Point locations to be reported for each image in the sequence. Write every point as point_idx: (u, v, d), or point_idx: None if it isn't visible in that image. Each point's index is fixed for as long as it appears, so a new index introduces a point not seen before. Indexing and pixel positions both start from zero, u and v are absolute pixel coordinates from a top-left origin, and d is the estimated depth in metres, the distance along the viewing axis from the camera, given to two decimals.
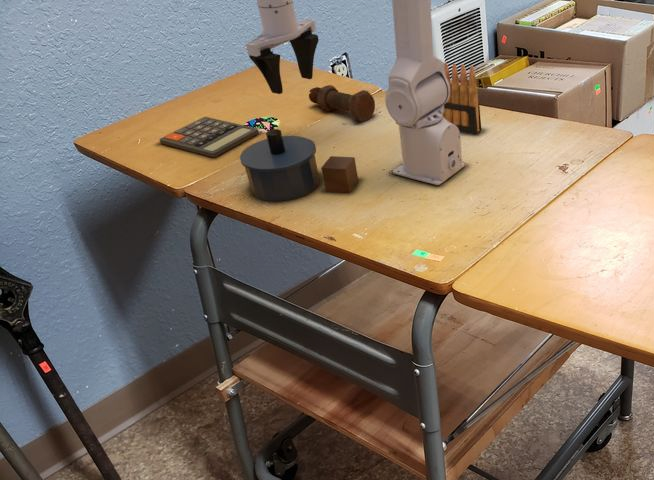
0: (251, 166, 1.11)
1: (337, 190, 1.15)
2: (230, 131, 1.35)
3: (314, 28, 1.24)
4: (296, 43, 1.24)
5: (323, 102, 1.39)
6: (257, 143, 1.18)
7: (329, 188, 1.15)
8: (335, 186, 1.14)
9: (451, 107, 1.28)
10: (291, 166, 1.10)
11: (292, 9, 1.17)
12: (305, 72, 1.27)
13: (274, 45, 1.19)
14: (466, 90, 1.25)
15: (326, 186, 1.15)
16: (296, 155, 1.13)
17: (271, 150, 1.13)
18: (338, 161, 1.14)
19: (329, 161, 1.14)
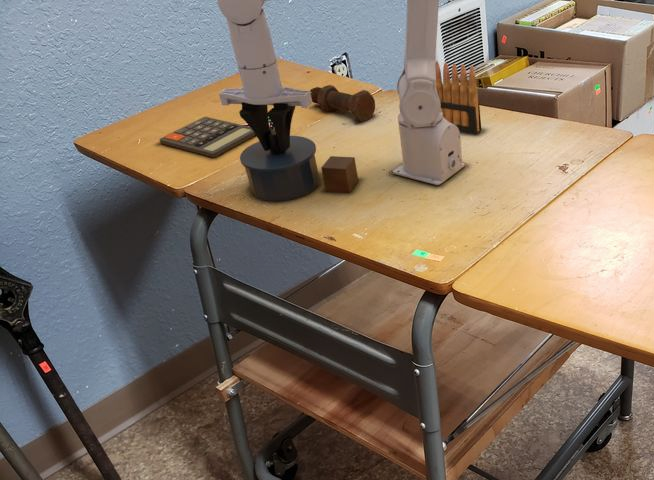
0: (251, 166, 1.11)
1: (337, 190, 1.15)
2: (230, 131, 1.35)
3: (304, 104, 1.07)
4: None
5: (323, 102, 1.39)
6: (257, 143, 1.18)
7: (329, 188, 1.15)
8: (335, 186, 1.14)
9: (451, 107, 1.28)
10: (291, 166, 1.10)
11: (255, 76, 1.04)
12: None
13: None
14: (466, 90, 1.25)
15: (326, 186, 1.15)
16: (296, 155, 1.13)
17: (271, 150, 1.13)
18: (338, 161, 1.14)
19: (329, 161, 1.14)
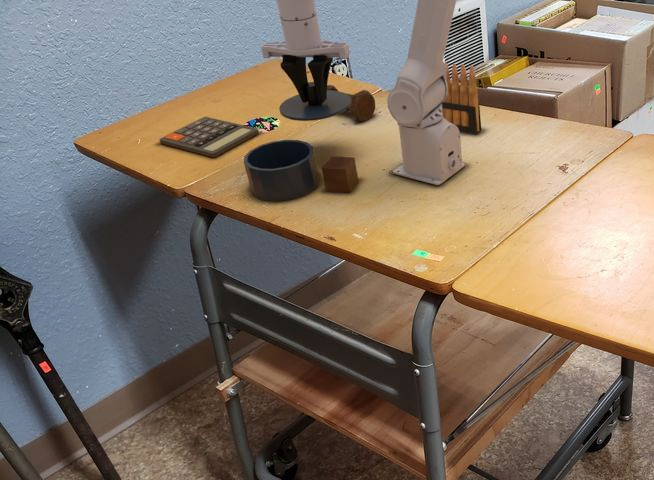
0: (291, 116, 1.17)
1: (337, 190, 1.15)
2: (230, 131, 1.35)
3: (342, 56, 1.13)
4: None
5: None
6: (294, 96, 1.24)
7: (329, 188, 1.15)
8: (335, 186, 1.14)
9: (451, 107, 1.28)
10: (329, 116, 1.16)
11: (298, 27, 1.10)
12: None
13: (291, 55, 1.16)
14: (466, 90, 1.25)
15: (326, 186, 1.15)
16: (333, 106, 1.19)
17: (309, 102, 1.19)
18: (338, 161, 1.14)
19: (329, 161, 1.14)
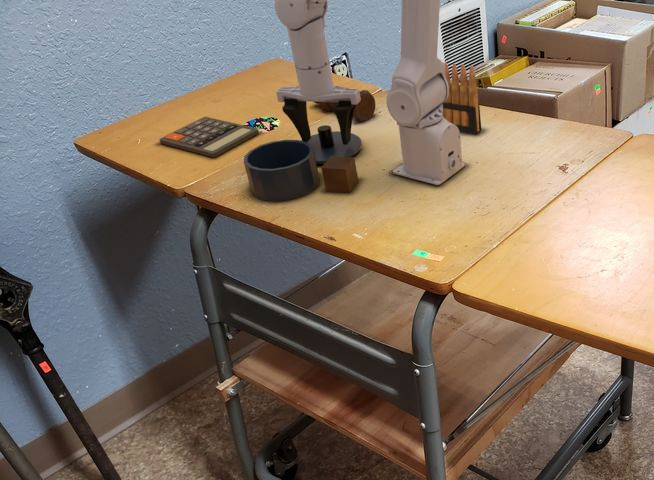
0: None
1: (337, 190, 1.15)
2: (230, 131, 1.35)
3: (354, 101, 1.19)
4: None
5: (324, 102, 1.39)
6: None
7: (329, 188, 1.15)
8: (335, 186, 1.14)
9: (451, 107, 1.28)
10: None
11: (312, 75, 1.16)
12: None
13: (305, 99, 1.21)
14: (466, 90, 1.25)
15: (326, 186, 1.15)
16: (344, 149, 1.25)
17: (322, 144, 1.25)
18: (338, 161, 1.14)
19: (329, 161, 1.14)
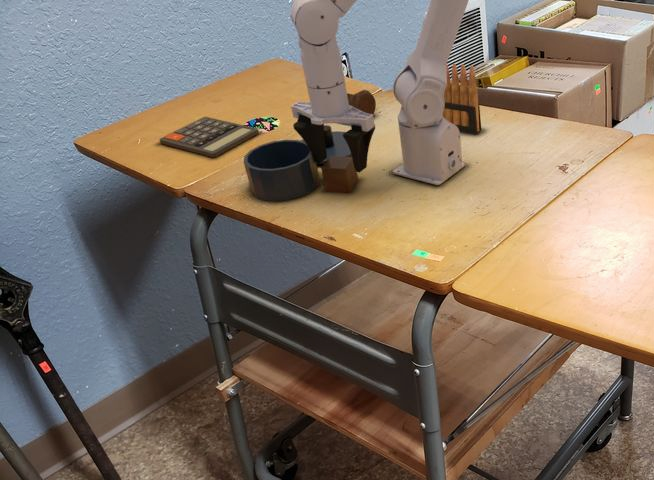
0: None
1: (337, 190, 1.15)
2: (230, 131, 1.35)
3: None
4: (310, 128, 1.12)
5: None
6: None
7: (329, 188, 1.15)
8: (335, 186, 1.14)
9: (451, 107, 1.28)
10: None
11: None
12: (322, 154, 1.16)
13: None
14: (466, 90, 1.25)
15: (326, 186, 1.15)
16: (344, 149, 1.25)
17: None
18: (338, 161, 1.14)
19: (329, 161, 1.14)
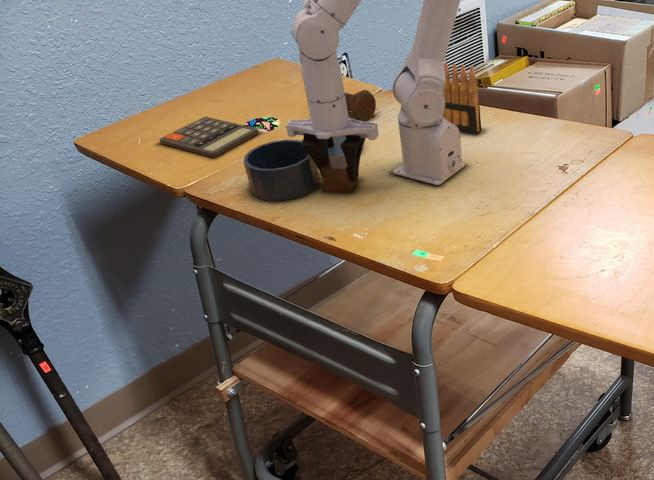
0: None
1: (337, 190, 1.15)
2: (230, 131, 1.35)
3: None
4: (319, 145, 1.11)
5: None
6: None
7: (329, 188, 1.15)
8: (335, 186, 1.14)
9: (451, 107, 1.28)
10: None
11: None
12: None
13: None
14: (466, 90, 1.25)
15: (326, 186, 1.15)
16: None
17: None
18: (338, 161, 1.14)
19: (329, 161, 1.14)
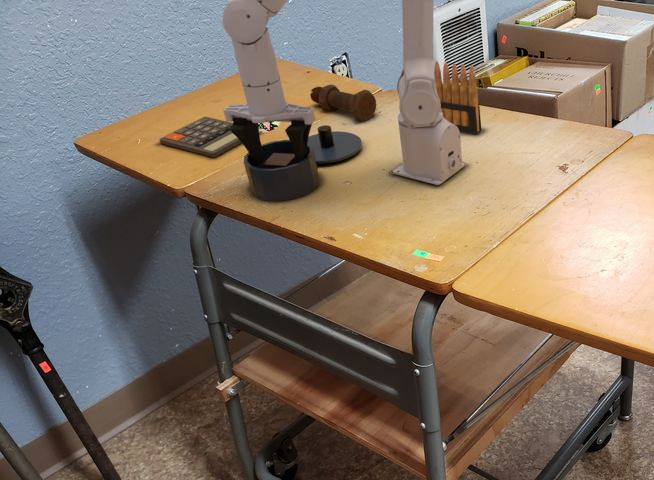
0: None
1: None
2: (230, 131, 1.35)
3: None
4: (248, 129, 1.12)
5: (324, 101, 1.40)
6: None
7: None
8: None
9: (451, 107, 1.28)
10: (341, 158, 1.22)
11: None
12: (260, 155, 1.16)
13: None
14: (466, 90, 1.25)
15: None
16: (344, 149, 1.25)
17: (322, 144, 1.25)
18: (280, 158, 1.16)
19: (271, 158, 1.16)
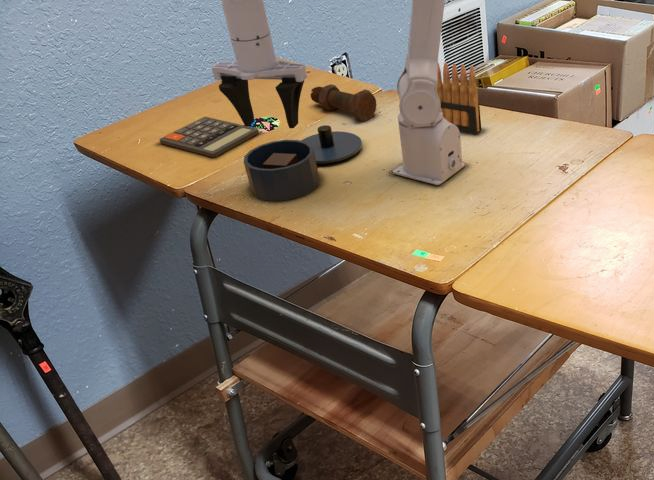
0: None
1: None
2: (230, 131, 1.35)
3: None
4: (237, 88, 1.08)
5: (325, 101, 1.40)
6: (307, 137, 1.30)
7: None
8: None
9: (451, 107, 1.28)
10: (341, 158, 1.22)
11: None
12: (250, 116, 1.12)
13: (275, 76, 1.06)
14: (466, 90, 1.25)
15: None
16: (344, 149, 1.25)
17: (322, 144, 1.25)
18: (280, 158, 1.16)
19: (271, 158, 1.16)
